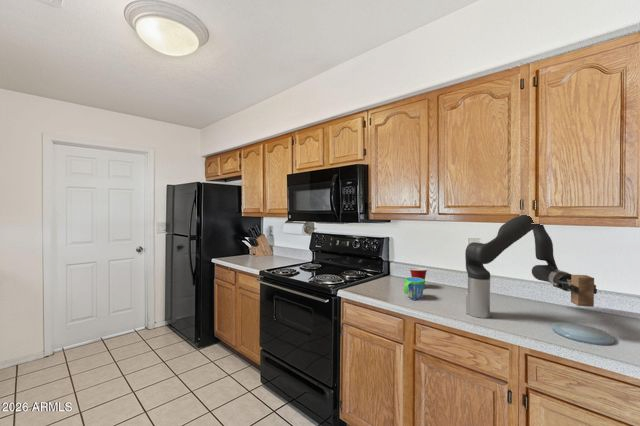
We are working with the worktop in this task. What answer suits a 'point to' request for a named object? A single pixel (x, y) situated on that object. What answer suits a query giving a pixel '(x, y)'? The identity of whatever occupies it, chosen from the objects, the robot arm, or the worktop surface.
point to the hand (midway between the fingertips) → (586, 290)
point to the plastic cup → (418, 272)
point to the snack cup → (414, 287)
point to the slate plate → (583, 333)
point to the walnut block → (583, 290)
